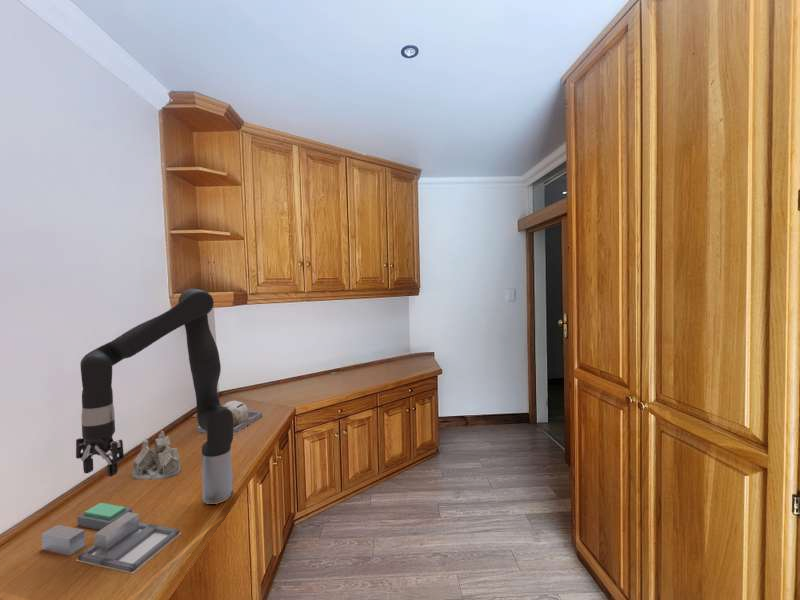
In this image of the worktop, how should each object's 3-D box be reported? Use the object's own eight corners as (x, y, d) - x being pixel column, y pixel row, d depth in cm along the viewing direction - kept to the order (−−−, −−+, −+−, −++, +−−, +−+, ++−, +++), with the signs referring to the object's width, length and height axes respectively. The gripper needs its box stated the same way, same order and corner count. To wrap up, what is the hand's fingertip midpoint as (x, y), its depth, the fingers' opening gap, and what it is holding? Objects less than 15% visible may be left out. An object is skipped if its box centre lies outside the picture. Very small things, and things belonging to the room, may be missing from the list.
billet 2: (128, 530, 114) (127, 511, 113) (139, 533, 113) (138, 513, 112) (95, 554, 104) (94, 533, 104) (106, 556, 103) (105, 536, 103)
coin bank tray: (231, 413, 216) (231, 409, 216) (262, 416, 212) (262, 412, 211) (196, 432, 190) (196, 427, 190) (230, 436, 185) (230, 431, 185)
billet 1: (58, 544, 110) (57, 524, 109) (85, 550, 107) (84, 530, 107) (42, 554, 106) (41, 533, 105) (70, 560, 103) (69, 539, 103)
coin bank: (216, 420, 206) (218, 396, 205) (249, 420, 211) (251, 397, 210) (210, 432, 191) (212, 407, 190) (246, 431, 196) (248, 407, 195)
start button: (100, 507, 122) (100, 502, 121) (125, 511, 119) (125, 507, 119) (84, 516, 117) (84, 511, 117) (110, 521, 114) (110, 516, 114)
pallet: (130, 526, 117) (130, 519, 117) (181, 536, 113) (181, 529, 113) (76, 564, 102) (75, 556, 102) (132, 577, 98) (132, 569, 97)
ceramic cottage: (130, 470, 151) (131, 434, 150) (176, 459, 162) (177, 426, 161) (134, 489, 139) (135, 451, 138) (183, 476, 150) (185, 440, 149)
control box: (101, 514, 123) (101, 502, 123) (132, 520, 120) (131, 508, 120) (77, 529, 116) (77, 516, 116) (109, 535, 113) (109, 523, 113)
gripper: (130, 417, 111) (132, 469, 112) (91, 413, 114) (93, 464, 115) (106, 427, 104) (108, 483, 105) (65, 422, 107) (67, 477, 108)
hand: (100, 473), depth 110 cm, fingers open, 8 cm apart
